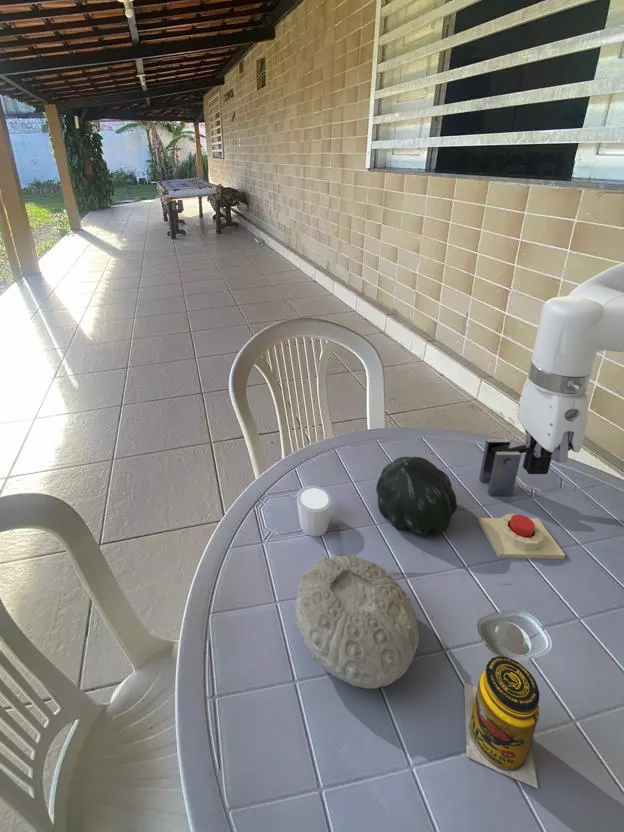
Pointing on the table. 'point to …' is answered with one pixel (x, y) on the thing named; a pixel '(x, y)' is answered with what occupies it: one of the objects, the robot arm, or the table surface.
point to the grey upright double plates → (499, 468)
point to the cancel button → (522, 525)
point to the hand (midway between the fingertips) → (534, 470)
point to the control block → (519, 540)
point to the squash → (416, 496)
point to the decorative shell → (356, 621)
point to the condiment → (503, 719)
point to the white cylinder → (314, 510)
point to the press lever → (510, 449)
